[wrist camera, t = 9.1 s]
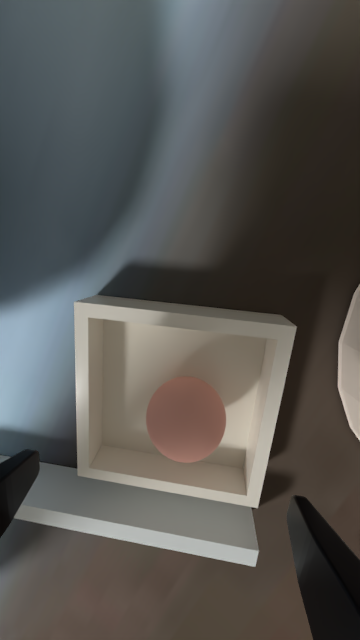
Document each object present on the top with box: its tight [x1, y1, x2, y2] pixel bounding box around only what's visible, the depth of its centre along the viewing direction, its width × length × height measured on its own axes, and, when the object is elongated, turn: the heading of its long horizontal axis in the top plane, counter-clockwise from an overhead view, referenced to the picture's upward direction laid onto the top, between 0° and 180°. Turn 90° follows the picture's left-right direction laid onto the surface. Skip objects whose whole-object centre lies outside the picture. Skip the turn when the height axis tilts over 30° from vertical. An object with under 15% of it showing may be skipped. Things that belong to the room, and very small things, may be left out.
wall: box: [0, 455, 259, 567], centre depth 16 cm, size 20×1×3 cm, turn 85°
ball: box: [146, 376, 226, 463], centre depth 12 cm, size 4×4×4 cm
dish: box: [74, 295, 297, 508], centre depth 14 cm, size 10×10×2 cm
